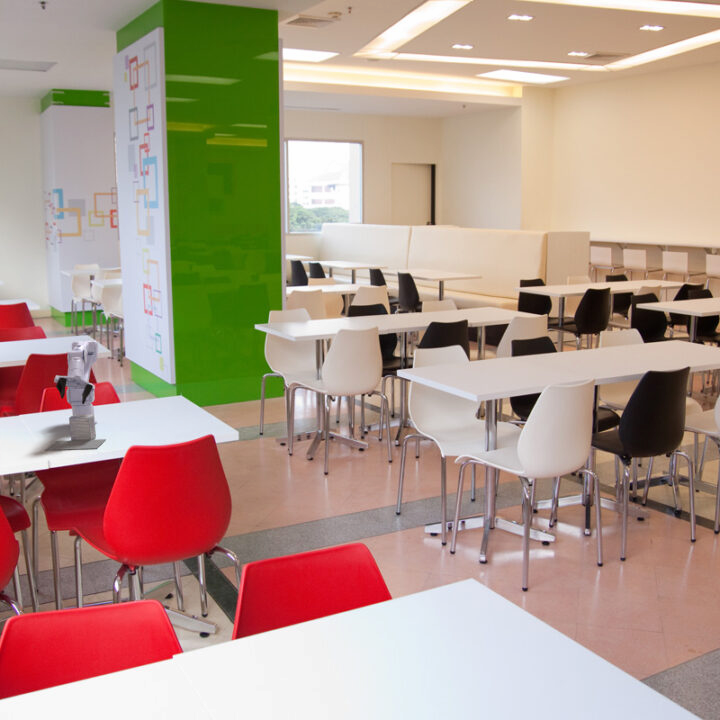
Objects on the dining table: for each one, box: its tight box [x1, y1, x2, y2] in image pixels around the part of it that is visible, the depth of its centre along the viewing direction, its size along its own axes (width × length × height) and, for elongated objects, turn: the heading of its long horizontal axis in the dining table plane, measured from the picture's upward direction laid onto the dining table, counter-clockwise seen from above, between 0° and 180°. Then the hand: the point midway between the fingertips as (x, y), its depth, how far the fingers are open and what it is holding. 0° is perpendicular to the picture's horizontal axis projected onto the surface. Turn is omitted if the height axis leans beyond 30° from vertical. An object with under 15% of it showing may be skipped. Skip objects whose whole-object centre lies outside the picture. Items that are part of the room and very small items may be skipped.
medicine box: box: [68, 414, 97, 440], centre depth 305 cm, size 8×4×9 cm, turn 84°
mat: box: [44, 438, 107, 452], centre depth 297 cm, size 12×18×1 cm, turn 92°
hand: (73, 399), depth 303 cm, fingers open, 7 cm apart
